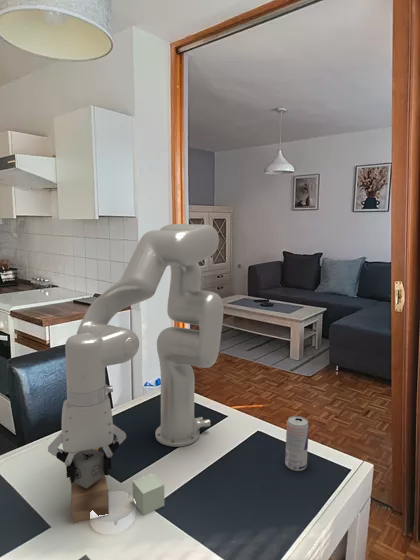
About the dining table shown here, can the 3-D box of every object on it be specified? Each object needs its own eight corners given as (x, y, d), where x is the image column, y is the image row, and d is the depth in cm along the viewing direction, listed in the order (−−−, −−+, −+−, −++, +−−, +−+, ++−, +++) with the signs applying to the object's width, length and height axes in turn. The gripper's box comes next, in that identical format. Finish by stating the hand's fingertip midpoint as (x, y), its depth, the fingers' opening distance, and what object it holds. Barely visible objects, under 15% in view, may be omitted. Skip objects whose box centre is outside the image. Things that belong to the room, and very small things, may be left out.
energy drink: (308, 462, 102) (310, 418, 101) (304, 474, 98) (306, 427, 96) (287, 457, 105) (289, 413, 103) (282, 468, 100) (284, 423, 98)
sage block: (153, 493, 90) (153, 472, 89) (164, 506, 86) (164, 484, 85) (132, 502, 87) (132, 481, 86) (143, 515, 83) (143, 493, 82)
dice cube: (86, 488, 81) (85, 465, 80) (69, 480, 83) (68, 458, 83) (104, 475, 85) (104, 453, 84) (88, 467, 88) (87, 446, 87)
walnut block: (104, 494, 90) (103, 469, 89) (108, 515, 83) (108, 488, 82) (71, 502, 87) (70, 476, 86) (73, 524, 80) (72, 497, 80)
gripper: (126, 382, 88) (127, 457, 91) (41, 393, 82) (45, 474, 84) (132, 395, 81) (133, 477, 84) (40, 409, 75) (44, 496, 78)
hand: (89, 474), depth 84 cm, fingers closed on dice cube, 6 cm apart
